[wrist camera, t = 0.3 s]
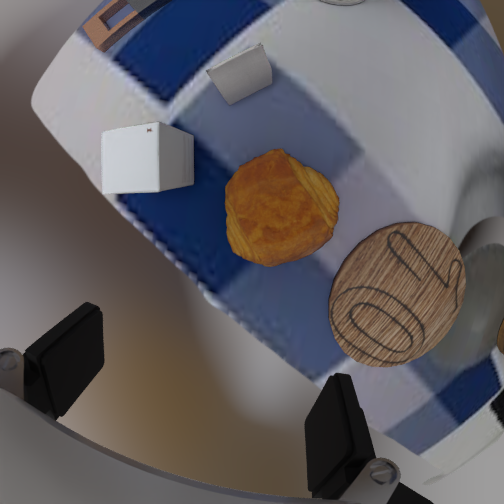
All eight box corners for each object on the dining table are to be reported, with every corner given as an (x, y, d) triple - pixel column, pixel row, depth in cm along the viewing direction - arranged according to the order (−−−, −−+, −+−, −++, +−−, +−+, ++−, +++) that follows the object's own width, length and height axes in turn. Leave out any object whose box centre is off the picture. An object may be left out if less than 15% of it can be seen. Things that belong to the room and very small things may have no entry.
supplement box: (147, 139, 38) (100, 129, 25) (195, 135, 37) (160, 119, 25) (147, 188, 40) (100, 195, 27) (194, 186, 39) (159, 192, 27)
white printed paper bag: (272, 83, 34) (270, 56, 25) (229, 105, 36) (214, 84, 26) (259, 64, 33) (253, 32, 24) (217, 85, 35) (199, 60, 25)
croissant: (340, 231, 41) (362, 242, 33) (244, 272, 42) (246, 292, 34) (305, 139, 38) (322, 129, 30) (203, 180, 38) (195, 179, 31)
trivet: (389, 187, 37) (394, 188, 35) (480, 273, 39) (485, 276, 37) (295, 323, 44) (296, 329, 42) (399, 378, 45) (402, 384, 43)
